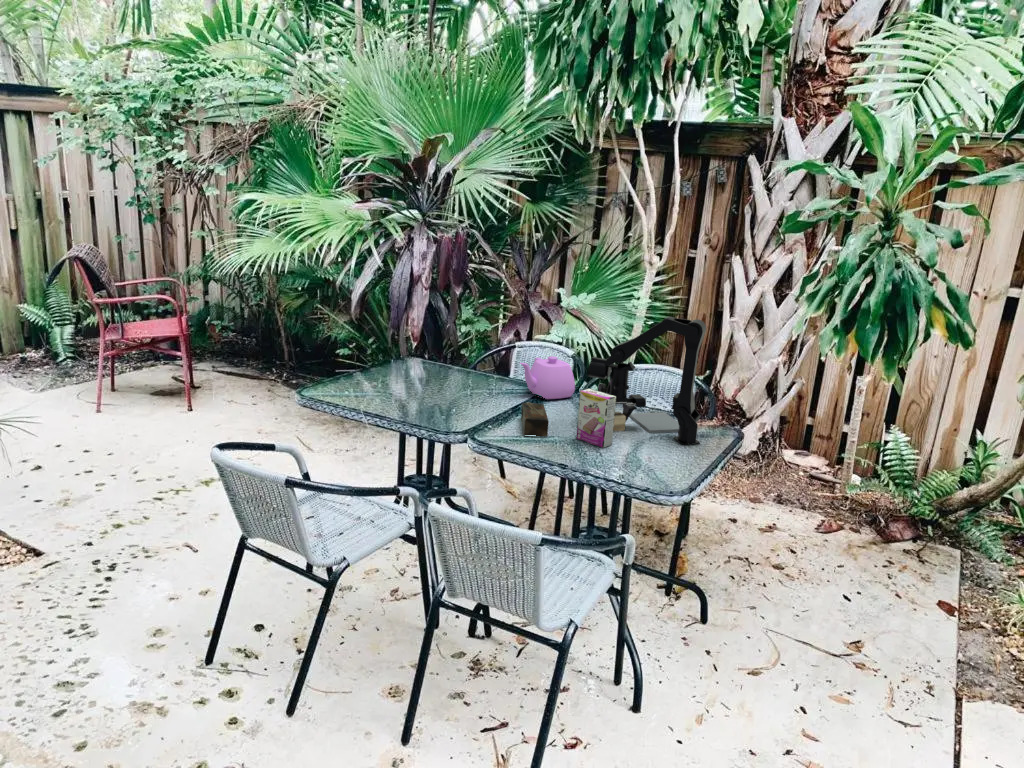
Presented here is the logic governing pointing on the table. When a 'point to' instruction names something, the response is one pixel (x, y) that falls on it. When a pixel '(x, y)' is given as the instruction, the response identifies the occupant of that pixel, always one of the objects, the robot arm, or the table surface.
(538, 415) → the beverage carton
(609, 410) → the candy bar box
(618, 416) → the lettered cube
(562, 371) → the teapot
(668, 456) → the table surface
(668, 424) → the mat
